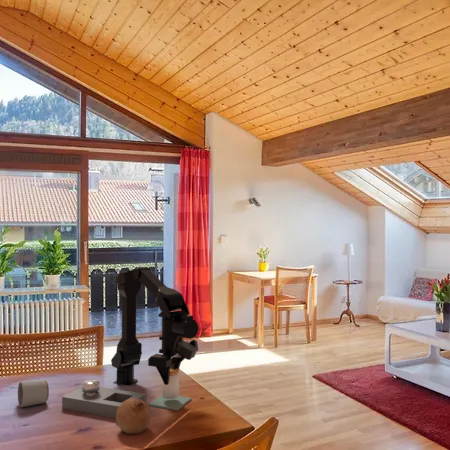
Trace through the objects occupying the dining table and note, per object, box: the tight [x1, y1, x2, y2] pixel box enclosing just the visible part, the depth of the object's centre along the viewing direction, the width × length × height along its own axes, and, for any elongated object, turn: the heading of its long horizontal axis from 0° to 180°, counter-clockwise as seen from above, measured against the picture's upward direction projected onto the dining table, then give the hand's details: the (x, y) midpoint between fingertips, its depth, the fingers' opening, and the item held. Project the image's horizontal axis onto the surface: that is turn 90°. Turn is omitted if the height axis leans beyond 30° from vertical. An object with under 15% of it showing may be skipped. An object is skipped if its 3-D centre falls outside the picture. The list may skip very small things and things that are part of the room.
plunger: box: [81, 379, 100, 396], centre depth 156 cm, size 5×5×7 cm
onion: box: [115, 398, 152, 435], centre depth 138 cm, size 10×9×10 cm
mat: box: [147, 394, 192, 412], centre depth 158 cm, size 10×10×1 cm
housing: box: [61, 386, 147, 419], centre depth 154 cm, size 12×22×4 cm, turn 69°
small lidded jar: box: [161, 368, 180, 399], centre depth 158 cm, size 5×5×8 cm
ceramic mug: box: [17, 379, 50, 408], centre depth 158 cm, size 11×8×8 cm
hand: (170, 382), depth 158 cm, fingers closed on small lidded jar, 5 cm apart
